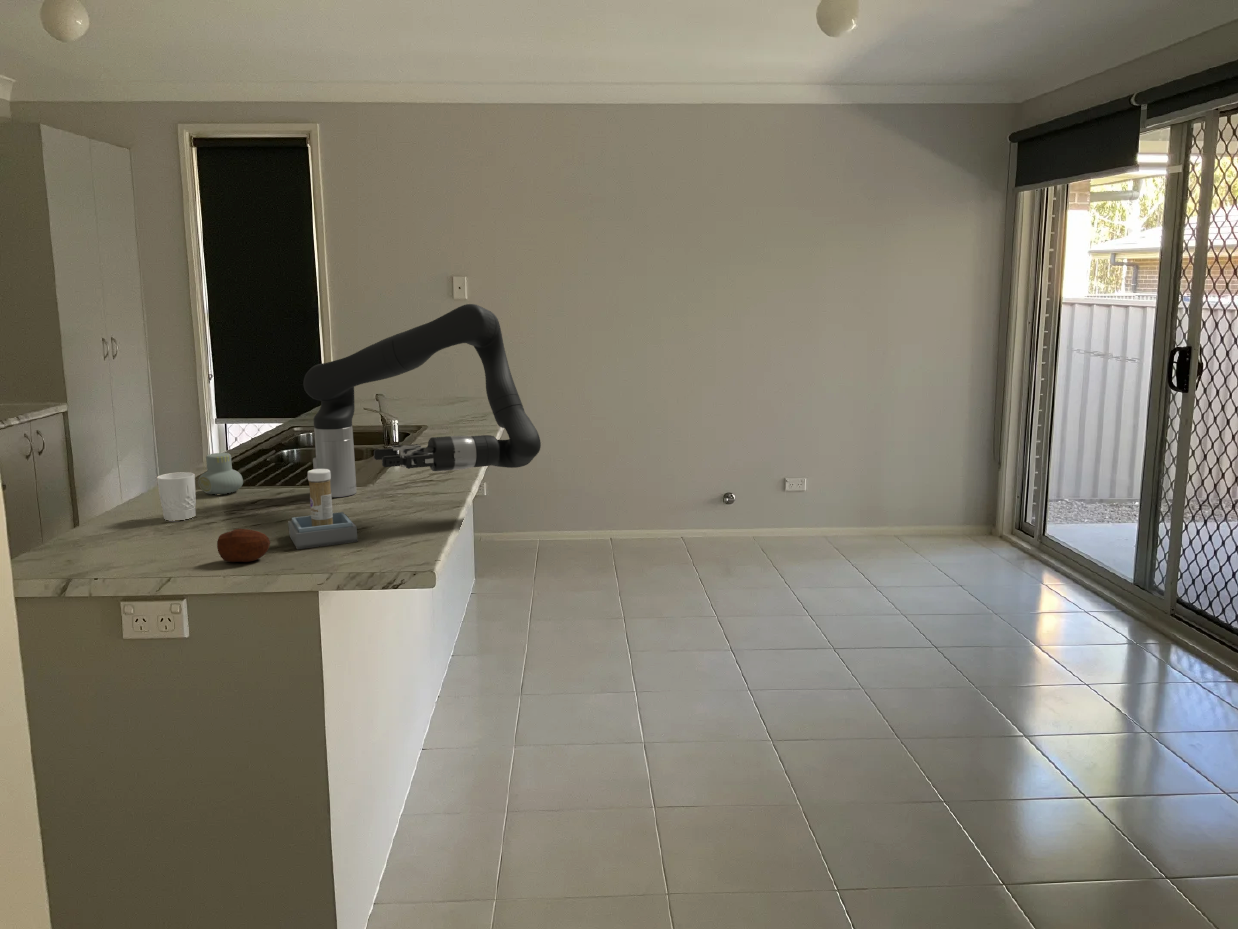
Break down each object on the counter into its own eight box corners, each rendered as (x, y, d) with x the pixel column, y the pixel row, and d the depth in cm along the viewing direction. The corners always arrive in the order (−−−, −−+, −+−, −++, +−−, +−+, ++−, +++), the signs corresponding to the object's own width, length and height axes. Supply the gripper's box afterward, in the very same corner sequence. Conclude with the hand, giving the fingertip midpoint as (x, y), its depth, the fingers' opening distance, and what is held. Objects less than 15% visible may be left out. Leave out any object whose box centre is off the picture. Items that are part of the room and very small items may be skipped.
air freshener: (247, 493, 247) (244, 454, 245) (216, 498, 241) (212, 459, 239) (227, 487, 255) (223, 450, 253) (196, 492, 249) (192, 454, 247)
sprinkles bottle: (307, 533, 202) (302, 470, 200) (326, 528, 206) (322, 467, 203) (320, 537, 200) (315, 473, 197) (338, 532, 203) (334, 469, 200)
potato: (228, 556, 191) (225, 524, 190) (275, 555, 191) (273, 523, 190) (214, 566, 184) (211, 533, 183) (263, 565, 184) (260, 533, 183)
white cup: (206, 515, 224) (202, 473, 222) (181, 523, 217) (176, 480, 215) (179, 513, 227) (175, 471, 225) (153, 521, 220) (148, 478, 218)
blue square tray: (297, 549, 195) (295, 530, 194) (289, 535, 206) (287, 517, 205) (357, 541, 200) (356, 523, 199) (346, 528, 211) (345, 510, 210)
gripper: (442, 431, 219) (370, 435, 212) (460, 441, 207) (384, 446, 200) (443, 463, 221) (372, 469, 214) (461, 475, 208) (385, 482, 201)
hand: (378, 458), depth 207 cm, fingers open, 8 cm apart
